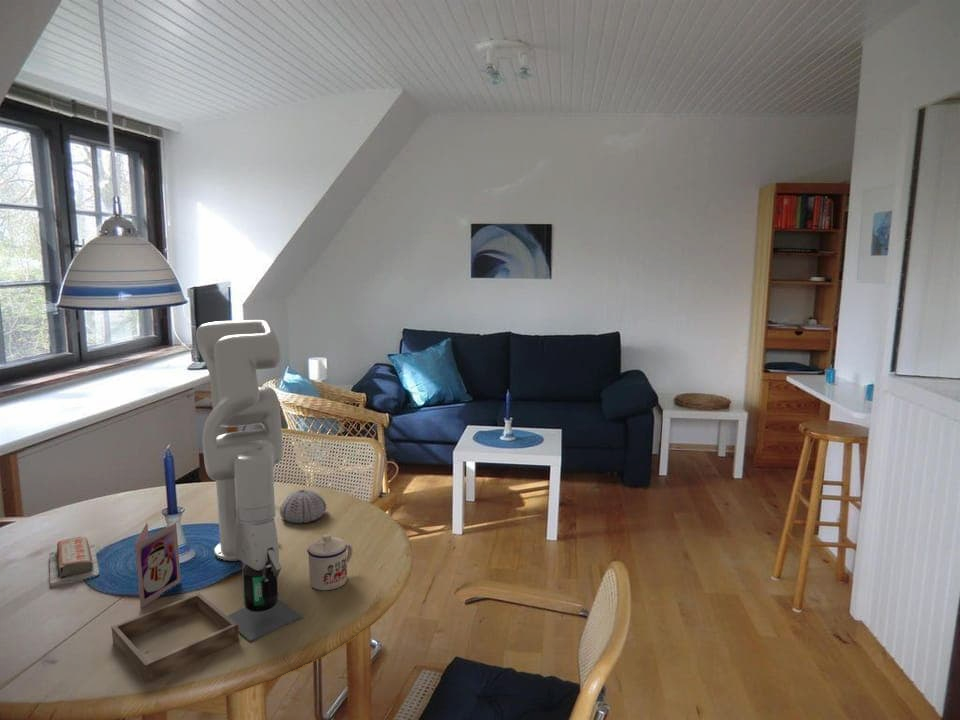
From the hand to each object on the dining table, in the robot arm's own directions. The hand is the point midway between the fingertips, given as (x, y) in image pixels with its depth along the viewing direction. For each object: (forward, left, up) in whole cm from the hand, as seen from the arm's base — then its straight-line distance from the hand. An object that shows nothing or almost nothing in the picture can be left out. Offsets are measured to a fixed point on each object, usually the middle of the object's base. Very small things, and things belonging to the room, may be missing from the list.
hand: (260, 589), depth 137 cm
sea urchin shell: (-35, -40, -7) cm, 54 cm away
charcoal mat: (0, 0, -7) cm, 7 cm away
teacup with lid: (-20, -3, -7) cm, 21 cm away
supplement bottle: (0, 0, -3) cm, 3 cm away
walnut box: (+16, -5, -7) cm, 18 cm away
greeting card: (+12, -28, -7) cm, 31 cm away
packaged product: (+20, -55, -7) cm, 59 cm away
